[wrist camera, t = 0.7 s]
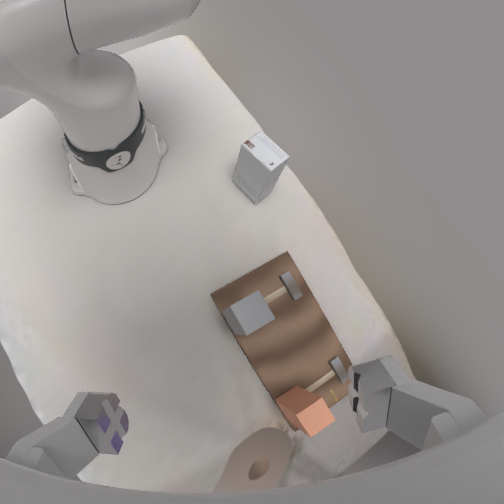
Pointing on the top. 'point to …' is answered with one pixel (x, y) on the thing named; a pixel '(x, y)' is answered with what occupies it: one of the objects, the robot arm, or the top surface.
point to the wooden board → (290, 334)
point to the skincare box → (259, 166)
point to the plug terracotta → (305, 410)
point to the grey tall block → (248, 314)
